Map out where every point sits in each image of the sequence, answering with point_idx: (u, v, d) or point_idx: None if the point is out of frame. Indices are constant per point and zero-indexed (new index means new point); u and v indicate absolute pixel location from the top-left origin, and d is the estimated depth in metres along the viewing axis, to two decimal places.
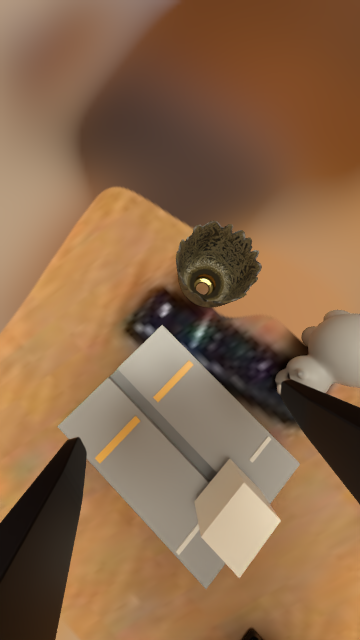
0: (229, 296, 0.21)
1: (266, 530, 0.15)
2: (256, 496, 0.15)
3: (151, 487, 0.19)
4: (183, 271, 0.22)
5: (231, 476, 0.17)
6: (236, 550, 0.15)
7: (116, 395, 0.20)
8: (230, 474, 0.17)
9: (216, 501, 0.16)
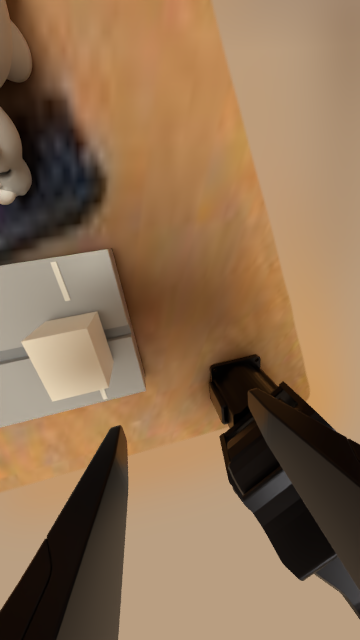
0: None
1: (86, 346, 0.13)
2: (45, 337, 0.12)
3: (38, 396, 0.18)
4: None
5: None
6: (84, 380, 0.14)
7: None
8: None
9: None
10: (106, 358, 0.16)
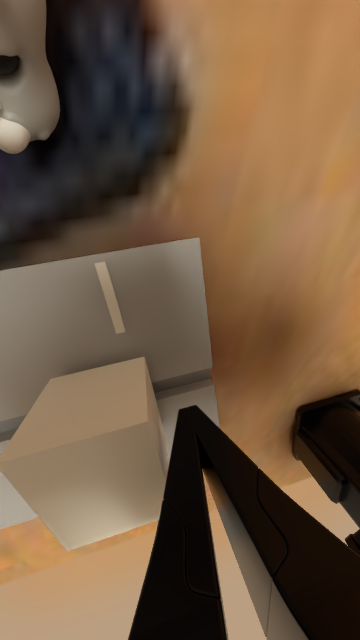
0: None
1: (142, 455, 0.06)
2: (53, 448, 0.05)
3: None
4: None
5: None
6: (133, 509, 0.07)
7: None
8: None
9: None
10: (163, 444, 0.09)
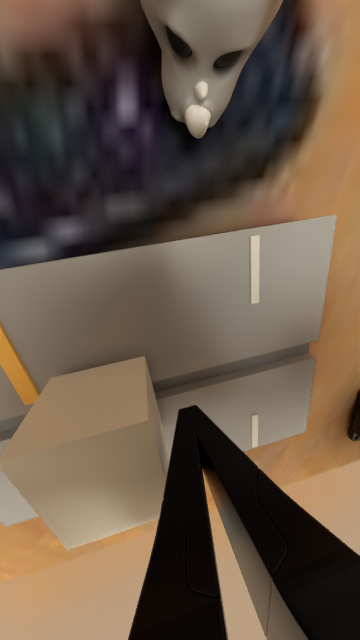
0: None
1: (142, 454, 0.06)
2: (54, 447, 0.05)
3: (170, 448, 0.12)
4: None
5: None
6: (133, 508, 0.07)
7: None
8: None
9: None
10: (163, 443, 0.09)
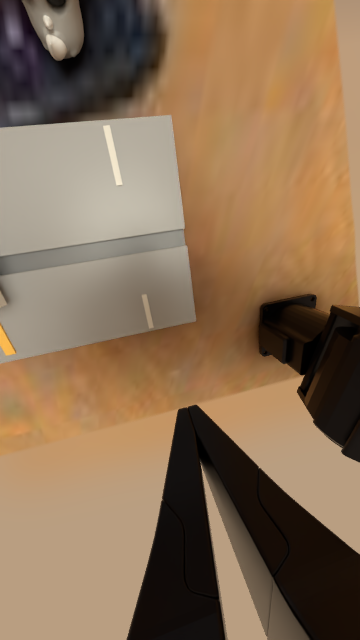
0: None
1: None
2: None
3: (75, 318, 0.15)
4: None
5: None
6: None
7: None
8: None
9: None
10: None
